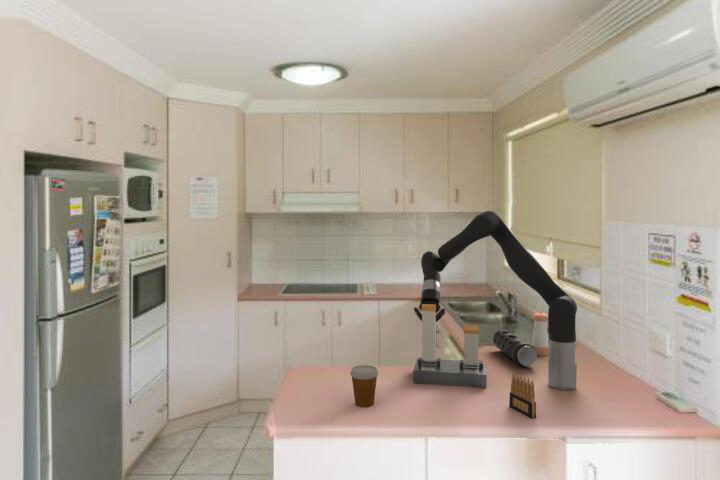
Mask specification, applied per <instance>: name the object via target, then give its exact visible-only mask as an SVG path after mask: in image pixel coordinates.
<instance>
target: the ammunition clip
mask: <svg viewBox="0 0 720 480" xmlns="http://www.w3.org/2000/svg"><path fill="white" fill-rule="evenodd" d="M510 383H511V384H510V391H509V404H508V405H509V406H508V407H509V408H510V409H512V410H514V411H516V412H517V413H520V414H522V415H523V416H526V417H527V418H529V419H531V420H533V419H537V404H536V403H537V402H536V393H535V382H534V380H531V381H530V378H527V379H526V376H524V377H523V375H520V376H519V374H518V373H515V371H512V374H511V382H510Z"/></svg>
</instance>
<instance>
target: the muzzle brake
mask: <svg viewBox="0 0 720 480" xmlns="http://www.w3.org/2000/svg"><path fill="white" fill-rule="evenodd" d="M492 343H493V345H494V347H496V348H497V349H499V350H500V351H501V352H502V353H504V354H505V355H506V356H508V357H509V358H510V359H512V360H513V362H515V363H516V364H517V365H518V366H521V367H531V366H533V364H535V363H536V362H537V356H538V355H537V354H536V350H535V348H534V347H533V346H532V344H530V343H529V342H527V341H524V340H522V339H521V338H520V337H517V336H516V335H515V334H513V333H512V332H510V331H508V330H506V329H499V330H497V331H496V332H494V334H493V338H492Z"/></svg>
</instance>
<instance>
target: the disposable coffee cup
mask: <svg viewBox="0 0 720 480" xmlns="http://www.w3.org/2000/svg"><path fill="white" fill-rule="evenodd" d="M378 375H379V371H378V368H377V367H376V366H375V365H374V366H373V365H367V364H362V365H361V364H360V365H356V366H353V367H351V371H350V376H351V381H352V388H353V389H352V390H353V397H354V404H355V406H356V407H360V408H369V407H372V406H374V404H375V396H376V387H377V381H378V380H377V379H378Z"/></svg>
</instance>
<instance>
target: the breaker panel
mask: <svg viewBox="0 0 720 480" xmlns="http://www.w3.org/2000/svg"><path fill="white" fill-rule="evenodd" d="M422 360H423V357H421V356H420V357H418V358H417V359H416V361H415V363H414V367H413V369H412V384H418V385H429V386H430V385H433V386H447V387H463V388H477V389H487V385H488V384H487V362H486V361H483V360H478V367H464V359H459V360H458V359H457V360H456V359H454V360H453V359H441V358H439V357H438V358H437V357H436V365H430V364H422Z"/></svg>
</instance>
